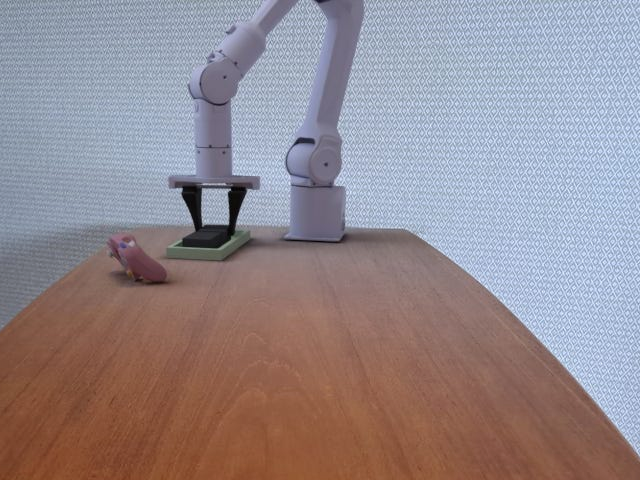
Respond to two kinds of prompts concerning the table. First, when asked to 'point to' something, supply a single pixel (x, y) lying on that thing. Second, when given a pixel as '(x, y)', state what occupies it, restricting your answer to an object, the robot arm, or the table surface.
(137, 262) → the video game controller
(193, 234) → the pad seated
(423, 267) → the table surface
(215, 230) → the pad loose
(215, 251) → the holder
